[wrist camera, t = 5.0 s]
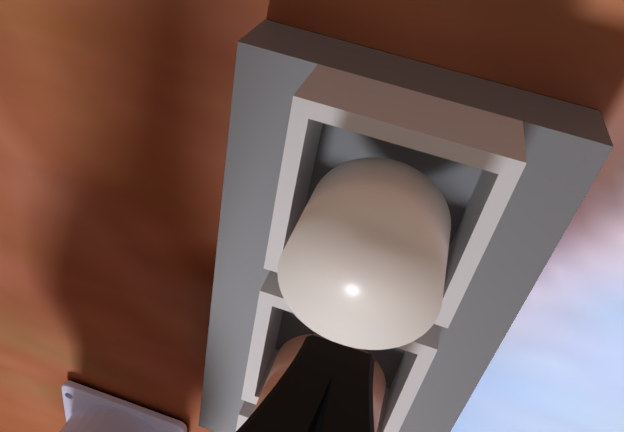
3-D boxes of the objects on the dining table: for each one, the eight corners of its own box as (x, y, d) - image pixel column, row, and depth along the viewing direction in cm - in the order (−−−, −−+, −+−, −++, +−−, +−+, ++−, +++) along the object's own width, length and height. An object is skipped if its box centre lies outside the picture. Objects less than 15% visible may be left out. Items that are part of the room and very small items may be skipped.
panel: (415, 457, 29) (402, 555, 25) (218, 387, 30) (176, 470, 26) (600, 110, 17) (631, 192, 13) (265, 19, 19) (202, 69, 15)
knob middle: (370, 426, 21) (354, 502, 19) (269, 390, 21) (240, 460, 19) (399, 357, 19) (384, 434, 16) (285, 318, 19) (254, 388, 17)
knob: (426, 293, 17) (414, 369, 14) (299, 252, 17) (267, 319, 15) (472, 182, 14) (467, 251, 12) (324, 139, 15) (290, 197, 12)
